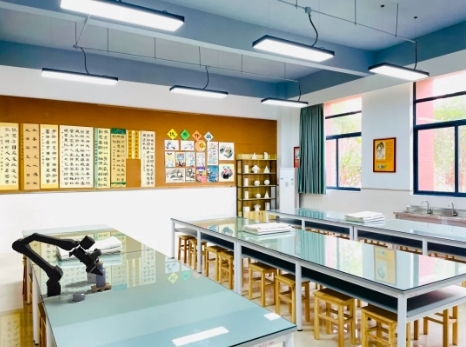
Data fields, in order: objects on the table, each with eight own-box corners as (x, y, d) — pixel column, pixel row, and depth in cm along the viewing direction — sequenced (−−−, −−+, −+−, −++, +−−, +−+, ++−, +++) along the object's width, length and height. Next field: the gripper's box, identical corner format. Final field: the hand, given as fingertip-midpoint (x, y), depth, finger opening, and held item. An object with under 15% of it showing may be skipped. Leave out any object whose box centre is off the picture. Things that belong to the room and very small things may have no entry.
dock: (93, 292, 199) (93, 289, 199) (90, 289, 204) (90, 286, 204) (111, 289, 204) (111, 285, 204) (108, 285, 210) (108, 282, 210)
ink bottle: (99, 288, 201) (98, 264, 200) (94, 286, 204) (93, 262, 204) (107, 285, 205) (107, 261, 204) (102, 283, 208) (101, 260, 208)
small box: (103, 278, 223) (102, 258, 223) (100, 282, 217) (100, 261, 217) (90, 279, 222) (89, 259, 222) (86, 282, 216) (86, 262, 216)
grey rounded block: (73, 302, 185) (73, 297, 185) (71, 299, 190) (71, 293, 190) (85, 300, 188) (85, 294, 188) (83, 296, 193) (83, 291, 193)
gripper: (91, 248, 194) (112, 266, 197) (94, 241, 212) (114, 258, 215) (76, 264, 192) (98, 282, 195) (80, 255, 209) (100, 272, 213)
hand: (103, 272), depth 205 cm, fingers open, 9 cm apart
